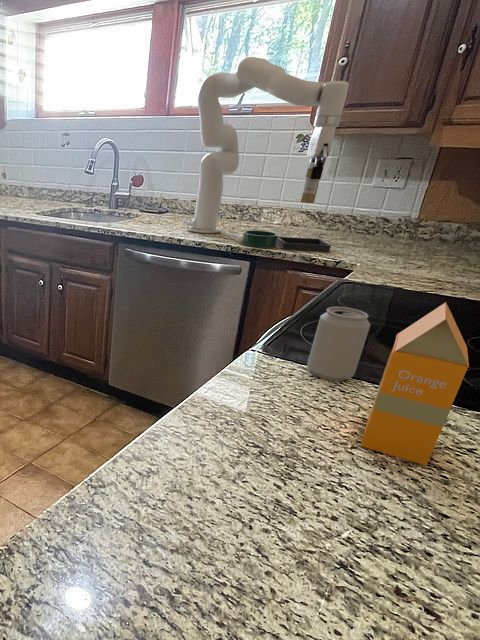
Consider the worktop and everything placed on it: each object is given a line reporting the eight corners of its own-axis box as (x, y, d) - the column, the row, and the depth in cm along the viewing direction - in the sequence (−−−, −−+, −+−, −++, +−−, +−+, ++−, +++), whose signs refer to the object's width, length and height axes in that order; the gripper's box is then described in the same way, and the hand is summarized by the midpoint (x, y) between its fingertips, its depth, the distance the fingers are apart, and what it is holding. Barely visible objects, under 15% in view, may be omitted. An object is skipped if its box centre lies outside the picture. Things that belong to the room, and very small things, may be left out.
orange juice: (359, 445, 74) (406, 311, 65) (366, 420, 80) (409, 295, 72) (428, 466, 69) (488, 325, 61) (429, 438, 76) (484, 306, 67)
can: (336, 365, 99) (354, 304, 94) (362, 382, 92) (384, 318, 87) (297, 365, 99) (313, 304, 94) (320, 383, 92) (340, 318, 87)
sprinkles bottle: (316, 202, 189) (326, 163, 184) (311, 203, 186) (321, 163, 181) (302, 201, 192) (311, 162, 187) (298, 202, 189) (307, 162, 184)
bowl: (244, 247, 195) (247, 235, 193) (239, 241, 205) (241, 229, 203) (278, 249, 192) (281, 236, 190) (271, 243, 203) (273, 231, 201)
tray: (283, 249, 192) (284, 242, 191) (275, 243, 203) (276, 236, 202) (328, 252, 189) (330, 245, 188) (318, 245, 199) (320, 238, 198)
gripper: (307, 122, 187) (295, 176, 194) (322, 121, 172) (308, 180, 179) (330, 122, 185) (317, 176, 193) (347, 122, 170) (332, 181, 178)
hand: (313, 177), depth 186 cm, fingers closed on sprinkles bottle, 4 cm apart
